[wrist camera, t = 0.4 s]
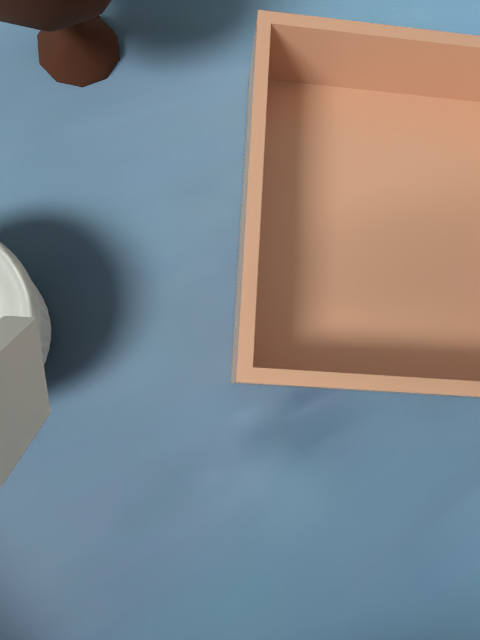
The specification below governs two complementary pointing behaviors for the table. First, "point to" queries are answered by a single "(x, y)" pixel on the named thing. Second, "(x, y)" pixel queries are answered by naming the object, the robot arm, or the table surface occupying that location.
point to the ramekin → (22, 296)
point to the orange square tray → (360, 209)
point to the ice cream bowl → (68, 37)
